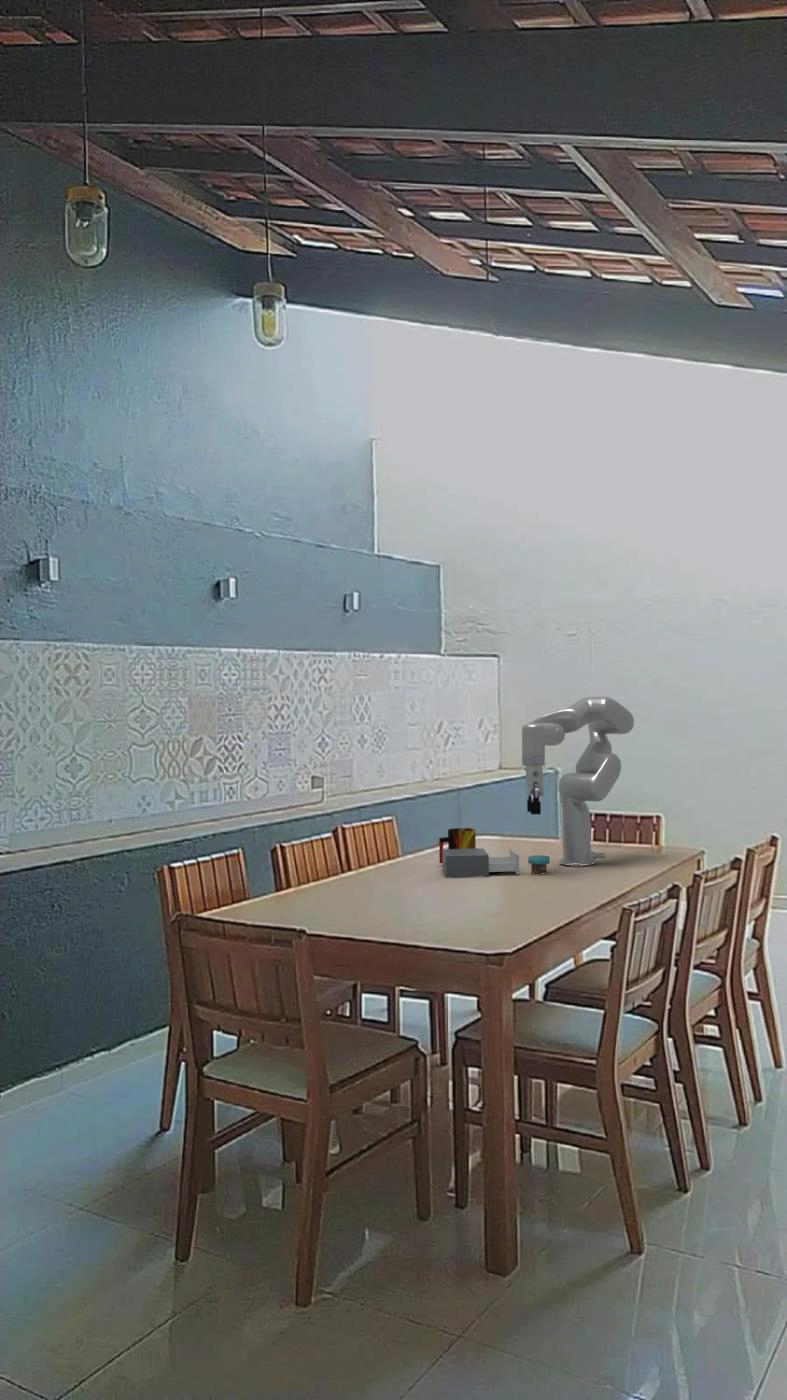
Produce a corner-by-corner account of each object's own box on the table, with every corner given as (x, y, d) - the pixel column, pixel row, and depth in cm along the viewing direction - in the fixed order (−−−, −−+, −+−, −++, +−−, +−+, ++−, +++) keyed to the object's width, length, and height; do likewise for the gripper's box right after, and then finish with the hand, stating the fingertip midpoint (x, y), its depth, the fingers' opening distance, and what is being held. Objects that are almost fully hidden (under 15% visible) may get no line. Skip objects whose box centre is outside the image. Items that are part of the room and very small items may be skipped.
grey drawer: (513, 867, 396) (512, 848, 396) (519, 874, 381) (518, 854, 381) (474, 868, 395) (473, 849, 395) (478, 875, 380) (478, 855, 380)
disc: (547, 861, 387) (547, 855, 387) (551, 864, 380) (551, 858, 380) (526, 861, 387) (526, 855, 387) (529, 864, 380) (529, 858, 380)
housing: (483, 868, 396) (483, 848, 396) (489, 876, 380) (488, 855, 379) (442, 869, 396) (442, 849, 396) (446, 877, 379) (445, 856, 379)
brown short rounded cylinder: (545, 872, 386) (545, 861, 386) (547, 874, 381) (547, 863, 381) (530, 872, 386) (530, 862, 386) (532, 874, 381) (532, 864, 381)
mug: (439, 866, 404) (438, 832, 404) (455, 861, 416) (454, 827, 416) (464, 868, 399) (463, 833, 399) (480, 862, 412) (479, 828, 411)
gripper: (548, 762, 376) (548, 815, 376) (541, 760, 393) (542, 810, 393) (525, 762, 376) (525, 815, 376) (519, 760, 393) (519, 810, 393)
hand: (533, 813), depth 384 cm, fingers open, 9 cm apart
